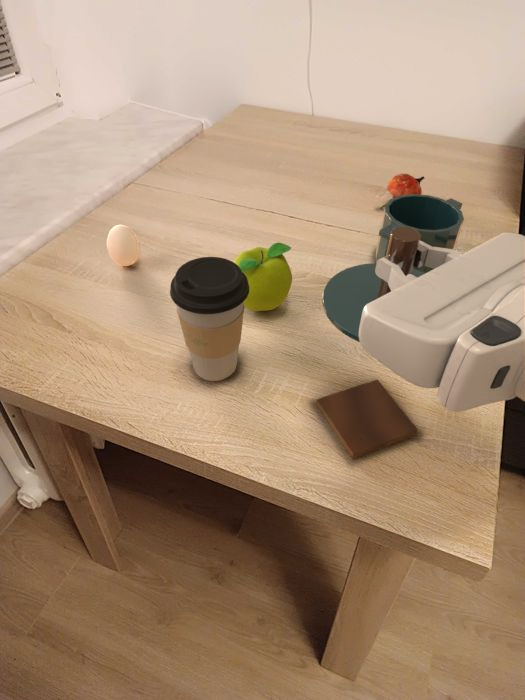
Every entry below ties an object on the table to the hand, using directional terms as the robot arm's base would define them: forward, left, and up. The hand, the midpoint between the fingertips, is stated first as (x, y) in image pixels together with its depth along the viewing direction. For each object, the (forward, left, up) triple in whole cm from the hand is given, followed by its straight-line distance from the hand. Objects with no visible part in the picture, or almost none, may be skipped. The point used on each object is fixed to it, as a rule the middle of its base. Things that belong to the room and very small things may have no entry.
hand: (395, 256), depth 46 cm
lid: (0, 0, -5) cm, 6 cm away
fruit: (+3, -25, -23) cm, 35 cm away
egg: (+20, -44, -23) cm, 54 cm away
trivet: (0, +1, -23) cm, 23 cm away
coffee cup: (+14, -15, -23) cm, 31 cm away
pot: (-26, -26, -23) cm, 44 cm away
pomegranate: (-35, -43, -23) cm, 60 cm away
